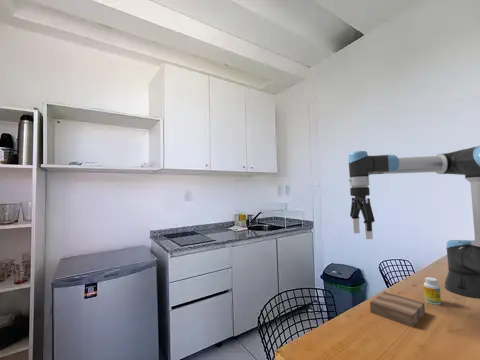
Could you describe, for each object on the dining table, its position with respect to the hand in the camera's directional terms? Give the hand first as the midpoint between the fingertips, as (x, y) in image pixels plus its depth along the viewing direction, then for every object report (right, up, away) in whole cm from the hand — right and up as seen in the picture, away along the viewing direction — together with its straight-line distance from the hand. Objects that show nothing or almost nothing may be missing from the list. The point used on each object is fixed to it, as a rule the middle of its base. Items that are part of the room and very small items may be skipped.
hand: (362, 236), depth 103 cm
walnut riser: (+8, -27, -11) cm, 30 cm away
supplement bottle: (+28, -27, -3) cm, 39 cm away
